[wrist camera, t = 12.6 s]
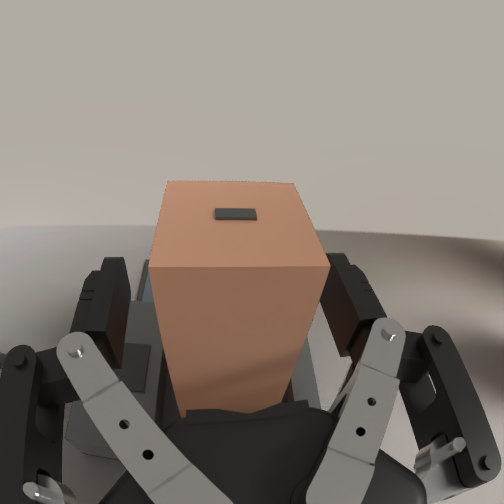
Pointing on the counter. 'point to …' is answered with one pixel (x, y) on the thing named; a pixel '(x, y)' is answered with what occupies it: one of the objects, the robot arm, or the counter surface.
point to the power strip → (161, 381)
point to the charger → (234, 290)
